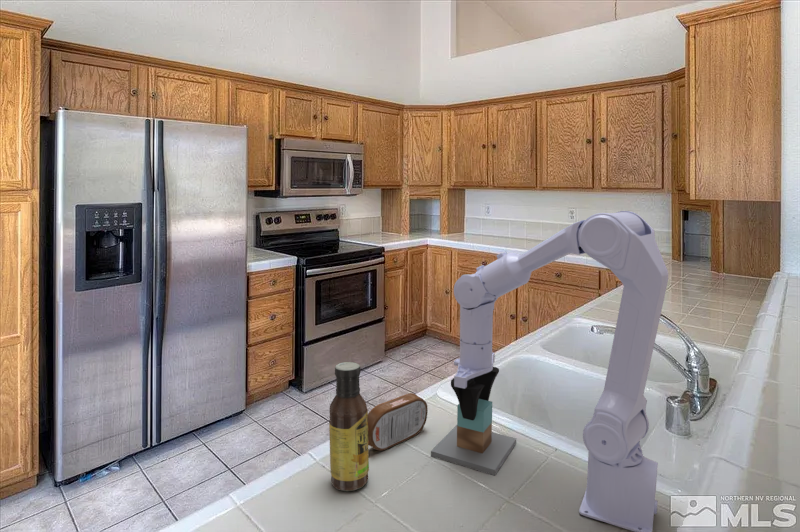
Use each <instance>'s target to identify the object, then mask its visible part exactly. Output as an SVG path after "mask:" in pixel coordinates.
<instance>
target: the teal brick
mask: <svg viewBox="0 0 800 532" xmlns="http://www.w3.org/2000/svg"><path fill="white" fill-rule="evenodd" d="M456 407H457V409H456V410H457V411H456V412H457V415H456V417H457V419H456V425H457V426H459V427H463V428H467V429H471V430H475V431H479V432H484V431H485V430H486V429H487V428H488V426H489V425H490V424H491V423H492V424H493V401H491V400H489V401H487V400H482V399H479V400H478V405H477V413H476V417H475V419H474V420H469V419H465V418H463V416H462V413H461V409H460V405H459V403H458V404H457V405H456Z"/></svg>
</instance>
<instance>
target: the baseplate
mask: <svg viewBox="0 0 800 532" xmlns="http://www.w3.org/2000/svg"><path fill="white" fill-rule="evenodd" d="M516 444H517V437H513V436H508V435H504V434H501V433H497V432H494V431H492V441H491V444H490V445H489V446H488V447H487V449H486V450H485V451H484V452H483V454H482V453H479V452H475V451H472V450H468V449H465V448H461V447H458V446H457V424H456V425H455V426H454V427H453V428H451V430H450V431H449V432H448V433H447V434H446V435H445V436H444V437H443V438H442V439H441V440H440V441H439V442H438V443H437V444H436V445H435V446H434V447H433V448H432V449H431V450H430V457H432V458H435V459H439V460H443V461H445V462H448V463H452V464H456V465H459V466H462V467H465V468H469V469H472V470H476V471H477V472H478V471H479V472H482V473H485V474H489V475H491V476H496V475H497V473H498V471H499V470H500V469H501V467H502V465H503V464H504V463H505V461H506V460H507V459H508V457H509V455H510V453H511V452H512V451H513V449H514V447H515V446H516Z"/></svg>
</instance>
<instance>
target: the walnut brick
mask: <svg viewBox="0 0 800 532" xmlns="http://www.w3.org/2000/svg"><path fill="white" fill-rule="evenodd" d="M492 426H493V422H492V423H491V424H490V425H489V426H488V428H487V429H486V430H485V431H484V432H479V431H475V430H471V429H467V428H463V427H459V426H457V446H458V447H461V448H465V449H468V450H472V451H475V452H479V453H482V454H483V452H484V451H485V450H486V449H487V447H488V446H489V445H490V444H491V441H492V432H493V431H492V430H493V427H492Z"/></svg>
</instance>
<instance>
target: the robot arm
mask: <svg viewBox="0 0 800 532" xmlns="http://www.w3.org/2000/svg"><path fill="white" fill-rule="evenodd" d="M655 234H656V233H655V229H654V228H653V227H652V226H651V225H650V224H649V223H648V222H647V221H646V220H645V219H644V218H643V217H642V216H641V215H640V214H638V213H637V212H634V211H630V210H620V211H617V212H598V213H597V212H596V213H594V214H591V215H590V216H588V217H587V218H586V219H581V220H578V221H575V222H573V223H571V224H570V225H568V226H566V227H564V228H562V229H560V230H559V231H558V232H556V233H554V234H552V235H551V236H550V237H548V238H547V239H544V240H543V241H541V242H540V243H538V244H536V245H535V246H533V247H531V248H530V249H528V250H526V251H525V252H524V253H518V252H515V251H510V252H507V251H504V252H503V251H501V252H500V253H498V254H496V258H497V259H495V260H493V261H492V262H490V263H489V264H486V265H484V264H483V265H480V266H477V267H476V272H475V273H472V274H469V273H468V274H462V275H461V276H460V277H459V278H458V279H457V280H456V282H455V283H454V286H453V296H454V299H455V300H456V302H457V304H459V307H460V308H459V310H460V312H459V316H460V317H459V358H455V360H454V361H453V365H454V366H456V367H457V370H456V374H454V376H453V378H452V379H451V380H450V387H451V388H452V390H453V391H454V393H455V395H456V398H457V401H458V404H459V405H460V409H461V413H462V416H463V418H465V419H469V420H474V419H475V417H476V413H477V405H478V400H479V399H482V400H487V401H490V396H491V391H492V388H493V384H494V383H495V380H496V377H498V374H499V371H500V369H499V367H496V366H494V363H495V358H496V357H495V356H496V355H495V352H493V328H494V327H493V326H494V325H493V323H494V321H493V319H494V317H493V316H494V310H495V303H496V301H497V300H498V299H499V298H500V297H502V296H504V295H506V294H508V293H510V292H512V291H514V290H516V289H518V288H520V287H522V286H524V285H526V284H527V283H529V281H530V279H531V275H532V272H534V271H536V270H538V269H541V268H542V267H545V266H547V265H548V264H551V263H552V262H555V261H558V260H559V259H562V258H563V257H566V256H568V255H570V254H571V255H579V256H580V255H583V254H586V255H587V256H588V257H590V258H591V259H592V260H595V261H596V262H597V263H599V264H601V265H603V266H604V267H605V268H607V269H609V270H610V271H611V272H612V273H613V275H614V276H615V277H616V278H617V279H618V280H619V281H620V282H621V283H622V285H623V289H622V294H621V298H620V304H619V309H618V315H617V320H616V324H615V325H616V326H615V328H614V329H615V330H614V336H613V341H612V345H611V351H610V357H609V360H608V361H609V362H608V366H607V372H606V377H605V381H604V386H603V387H604V388H603V391H602V393H601V395H600V397H599V399H598V401H597V403H596V405H595V406H594V411H593V415H592V418H591V419H590V420H589V421H587V423H586V424H585V425H584V428H583V430H582V439H583V443H584V446H585V448H586V449H587V451H588V454H587V455H588V456H587V473H586V475H587V476H586V489H585V492H584V495H583V498H582V500H581V503H580V506H579V509H578V513H579V515H581V516H584V517H587V518H590V519H593V520H596V521H600V522H604V523H607V524H610V525H613V526H616V527H618V528H623V529H625V530H628V531H632V532H653V526H654V518H655V516H654V515H657V513H658V501H659V500H657V499H656V495H657V494H656V492H657V483H658V482H657V480H658V479H657V478H658V466H659V463H658V462H657V461H655V460H652V459H650V458H648V457H645V456H644V453H643V450H642V449H643V448H642V447H641V443H640V442H641V440H642V439H643V438H645V437H646V436H647V434H648V432H649V427H650V422H649V417H648V415H647V410H646V409H647V404H648V400H647V398H646V397H645V395H644V394H645V389H646V385H647V380H648V375H649V371H650V366H651V361H652V357H653V352H654V347H655V343H656V338H657V333H658V329H659V324H660V320H661V319H660V318H661V314H662V310H663V305H664V301H665V296H666V292H667V286H668V282H669V270H668V268H667V266H666V263H665V261H664V258H663V256H662V253H661V251H660V247H659V245H658V243H657V240H656V235H655Z"/></svg>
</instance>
